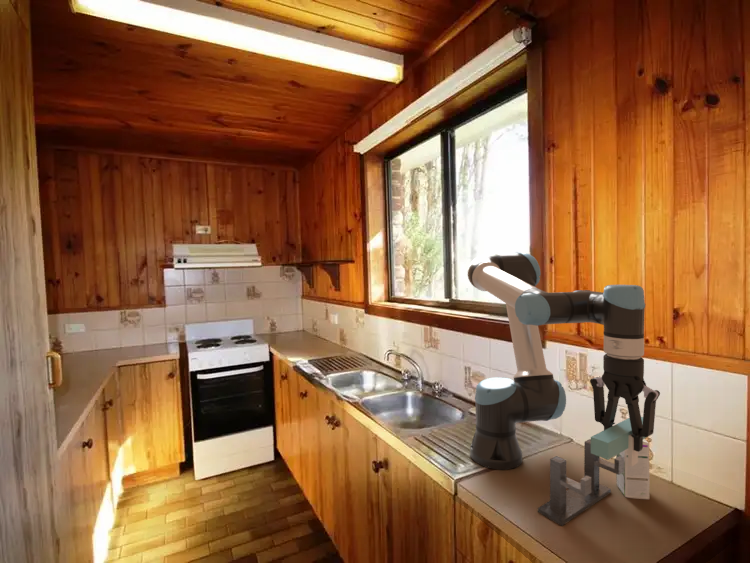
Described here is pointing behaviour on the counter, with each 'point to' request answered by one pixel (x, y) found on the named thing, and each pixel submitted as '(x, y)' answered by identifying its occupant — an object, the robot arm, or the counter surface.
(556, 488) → the rack
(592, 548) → the counter surface
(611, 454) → the block
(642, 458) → the syrup box
